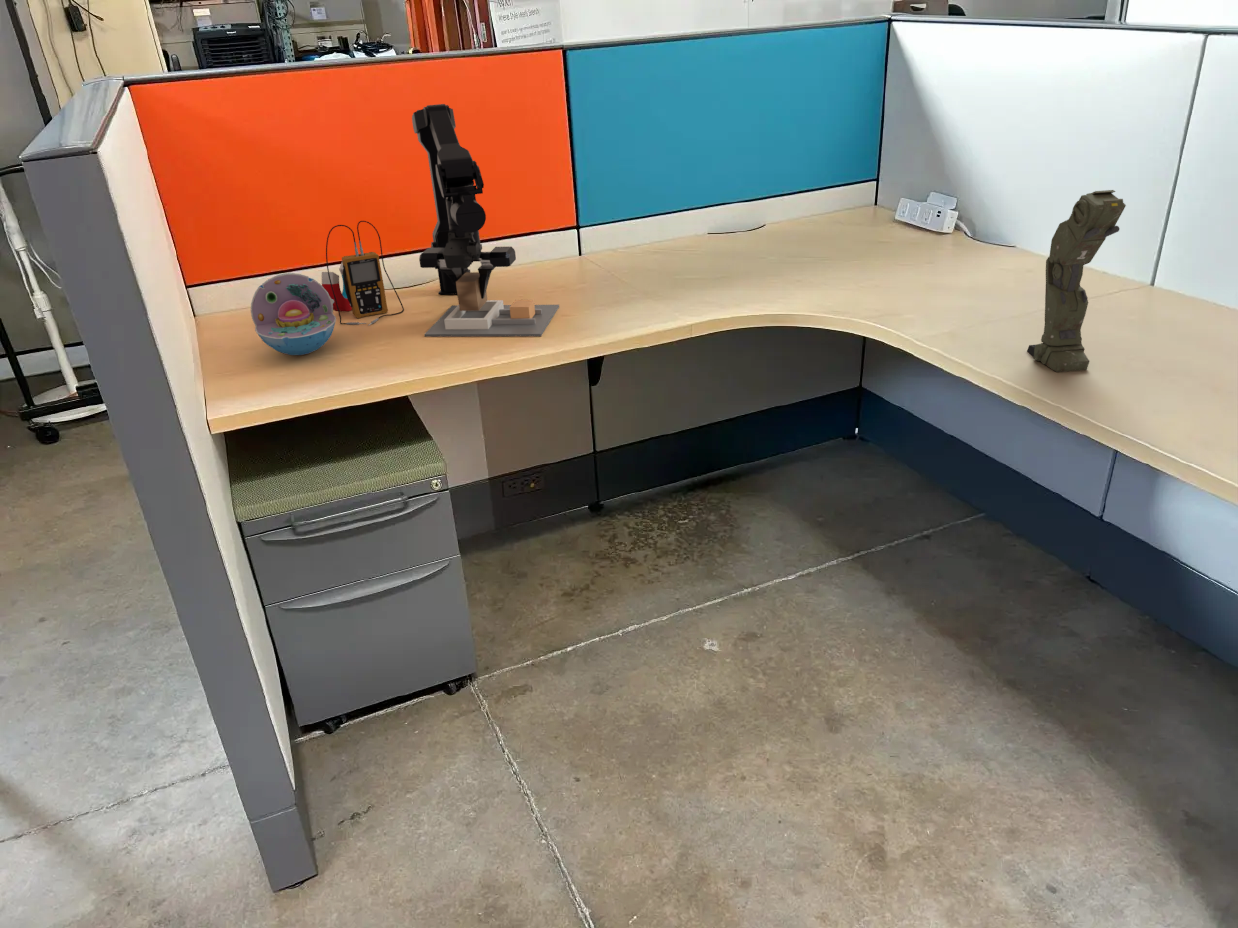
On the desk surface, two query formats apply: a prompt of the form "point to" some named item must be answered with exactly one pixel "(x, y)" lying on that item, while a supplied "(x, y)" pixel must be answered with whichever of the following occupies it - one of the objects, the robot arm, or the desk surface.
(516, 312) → the block
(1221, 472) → the desk surface
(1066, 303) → the mechanical leg
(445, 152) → the robot arm
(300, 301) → the educational model
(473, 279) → the block
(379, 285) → the multimeter
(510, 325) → the grey base board
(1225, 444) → the desk surface
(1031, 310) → the desk surface
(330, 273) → the magnet
